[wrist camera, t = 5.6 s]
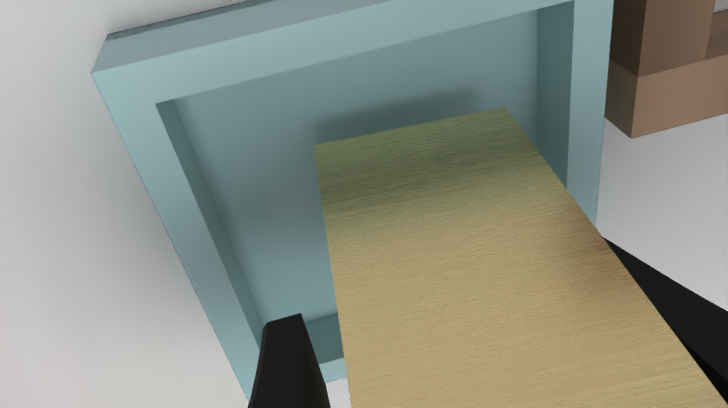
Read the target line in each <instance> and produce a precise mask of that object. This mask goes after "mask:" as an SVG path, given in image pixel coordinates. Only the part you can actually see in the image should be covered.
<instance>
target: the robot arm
mask: <svg viewBox="0 0 728 408" xmlns="http://www.w3.org/2000/svg"><path fill="white" fill-rule="evenodd" d="M603 239H604V240H605V241H606V243H607V244H608V245H609V247H610V248H611V249H612V251H613V252H614V253H615V255H616V256H617V257H618V259H619V260H620V261H621V263H622V264H623V265H624V267H625V268H626V269H627V271H628V272H629V273H630V275H631V276H632V277H633V279H634V280H635V281H636V283H637V284H638V285H639V287H640V288H641V289H642V291H643V292H644V293H645V295H646V296H647V297H648V299H649V300H650V301H651V303H652V304H653V305H654V307H655V308H656V310H657V311H658V312H659V314H660V315H661V316H662V318H663V319H664V320H665V322H666V323H667V324H668V326H669V327H670V328H671V330H672V331H673V332H674V334H675V335H676V336H677V338H678V339H679V340H680V342H681V343H682V344H683V346H684V347H685V348H686V350H687V351H688V352H689V354H690V355H691V356H692V358H693V359H694V360H695V362H696V363H697V364H698V366H699V367H700V368H701V370H702V371H703V372H704V374H705V375H706V376H707V378H708V379H709V380H710V382H711V383H712V385H713V386H714V387H715V389H716V390H717V391H718V393H719V394H720V395H721V397H722V398H723V399H724V401H725V402H726V403H727V405H728V311H726V310H724V309H722V308H720V307H719V306H717V305H715V304H713V303H712V302H710V301H708V300H706V299H704V298H703V297H701V296H699V295H698V294H696V293H694V292H692V291H691V290H689V289H687V288H685V287H684V286H682V285H680V284H679V283H677V282H675V281H674V280H672V279H670V278H669V277H667V276H665V275H664V274H662V273H660V272H659V271H657V270H656V269H654V268H652V267H651V266H649V265H647V264H646V263H644V262H642V261H641V260H639V259H638V258H636V257H634V256H633V255H631V254H630V253H628V252H626V251H625V250H623V249H622V248H620V247H618V246H617V245H615V244H613V243H612V242H610V241H609V240H607V239H605V238H604V237H603ZM248 408H330V403H329V398H328V394H327V389H326V385H325V382H324V379H323V376H322V373H321V370H320V367H319V364H318V361H317V358H316V355H315V352H314V349H313V346H312V343H311V341H310V338H309V335H308V332H307V329H306V326H305V323H304V320H303V317H302V314H301V313H299V314H295V315H291V316H288V317H284V318H281V319H277V320H273V321H270V322H267V323H266V325H265V326H264V327H263V330H262V339H261V347H260V353H259V359H258V365H257V370H256V375H255V379H254V384H253V388H252V393H251V397H250V401H249V405H248Z"/></svg>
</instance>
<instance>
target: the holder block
mask: <svg viewBox="0 0 728 408" xmlns="http://www.w3.org/2000/svg"><path fill="white" fill-rule="evenodd" d="M714 5H715V0H614V3H613V15H612V27H611V39H610V52H609V64H608V76H607V88H606V101H605V113H604V117H605V118H606V119H608V120H609V121H610V122H611V123H613V124H614V125H615V126H616V127H617V128H619V129H620V130H621V131H622V132H623V133H625V134H626V135H627V136H628V137H629V138H631V139H632V138H636V137H640V136H643V135H647V134H651V133H655V132H659V131H662V130H666V129H670V128H674V127H677V126H681V125H685V124H689V123H692V122H696V121H700V120H704V119H707V118H711V117H715V116H719V115H722V114H726V113H728V10H726V11H722V12H718V13H714V14H713V10H714Z"/></svg>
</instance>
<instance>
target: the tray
mask: <svg viewBox="0 0 728 408" xmlns="http://www.w3.org/2000/svg"><path fill="white" fill-rule="evenodd" d="M613 3H614V0H252V1H247V2H243V3H239V4H235V5H231V6H226V7H222V8H218V9H214V10H210V11H206V12H201V13H197V14H193V15H189V16H185V17H180V18H176V19H172V20H168V21H164V22H159V23H155V24H151V25H147V26H143V27H138V28H134V29H130V30H126V31H122V32H117V33H113V34H109V35H107V38H106V40H105V42H104V44H103V47H102V49H101V51H100V53H99V56H98V58H97V60H96V62H95V65H94V67H93V69H92V71H91V75H92V77H93V79H94V82H95V84H96V86H97V88H98V90H99V92H100V94H101V96H102V98H103V100H104V102H105V104H106V107H107V109H108V111H109V113H110V115H111V117H112V119H113V121H114V123H115V125H116V127H117V129H118V131H119V134H120V136H121V138H122V140H123V142H124V144H125V146H126V148H127V150H128V152H129V154H130V156H131V158H132V161H133V163H134V165H135V167H136V169H137V171H138V173H139V175H140V177H141V179H142V181H143V183H144V186H145V188H146V190H147V192H148V194H149V196H150V198H151V200H152V202H153V204H154V206H155V208H156V210H157V213H158V215H159V217H160V219H161V221H162V223H163V225H164V227H165V229H166V231H167V233H168V235H169V238H170V240H171V242H172V244H173V246H174V248H175V250H176V252H177V254H178V256H179V258H180V260H181V262H182V265H183V267H184V269H185V271H186V273H187V275H188V277H189V279H190V281H191V283H192V285H193V287H194V289H195V292H196V294H197V296H198V298H199V300H200V302H201V304H202V306H203V308H204V310H205V312H206V314H207V317H208V319H209V321H210V323H211V325H212V327H213V329H214V331H215V333H216V335H217V337H218V339H219V341H220V344H221V346H222V348H223V350H224V352H225V354H226V356H227V358H228V360H229V362H230V364H231V366H232V369H233V371H234V373H235V375H236V377H237V379H238V381H239V383H240V385H241V387H242V389H243V391H244V393H245V396H246V398H247V400H248V402H249V401H250V397H251V393H252V388H253V384H254V379H255V375H256V370H257V365H258V359H259V353H260V347H261V339H262V330H263V327H264V326H265V325H266V323H267V322H270V321H273V320H277V319H281V318H284V317H288V316H291V315H295V314H299V313H301V314H302V317H303V320H304V323H305V326H306V329H307V332H308V335H309V338H310V341H311V343H312V346H313V349H314V352H315V355H316V358H317V361H318V364H319V367H320V370H321V373H322V376H323V379H324V382H325V383H328V382H332V381H335V380H339V379H342V378H346V377H347V372H346V365H345V359H344V352H343V345H342V338H341V331H340V324H339V318H338V311H337V304H336V297H335V290H334V284H333V277H332V270H331V263H330V256H329V249H328V243H327V236H326V229H325V222H324V215H323V208H322V202H321V195H320V188H319V181H318V174H317V167H316V161H315V154H314V147H313V145H317V144H322V143H327V142H332V141H337V140H342V139H347V138H352V137H357V136H362V135H367V134H372V133H377V132H383V131H388V130H393V129H398V128H403V127H408V126H413V125H418V124H423V123H428V122H433V121H438V120H443V119H448V118H453V117H458V116H463V115H468V114H473V113H478V112H483V111H488V110H493V109H498V108H503V107H506V109H507V110H508V111H509V113H510V114H511V115H512V117H513V118H514V119H515V121H516V122H517V123H518V125H519V126H520V127H521V129H522V130H523V131H524V133H525V134H526V135H527V137H528V138H529V139H530V141H531V142H532V143H533V145H534V146H535V147H536V149H537V150H538V151H539V153H540V154H541V155H542V157H543V158H544V160H545V161H546V162H547V164H548V165H549V166H550V168H551V169H552V170H553V172H554V173H555V174H556V176H557V177H558V178H559V180H560V181H561V182H562V184H563V185H564V186H565V188H566V189H567V190H568V192H569V193H570V194H571V196H572V197H573V198H574V200H575V201H576V202H577V204H578V205H579V206H580V208H581V209H582V210H583V212H584V213H585V214H586V216H587V217H588V218H589V220H590V221H591V222H592V224H593V225H594V226H595V223H596V211H597V199H598V186H599V174H600V162H601V150H602V137H603V125H604V113H605V101H606V88H607V76H608V64H609V52H610V39H611V27H612V15H613Z"/></svg>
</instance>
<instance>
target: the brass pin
mask: <svg viewBox="0 0 728 408" xmlns="http://www.w3.org/2000/svg"><path fill="white" fill-rule="evenodd" d="M313 147H314V154H315V161H316V167H317V174H318V181H319V188H320V195H321V202H322V208H323V215H324V222H325V229H326V236H327V243H328V249H329V256H330V263H331V270H332V277H333V284H334V290H335V297H336V304H337V311H338V318H339V324H340V331H341V338H342V345H343V352H344V359H345V365H346V372H347V379H348V386H349V393H350V400H351V406H352V408H728V405H727V403H726V402H725V401H724V399H723V398H722V397H721V395H720V394H719V393H718V391H717V390H716V389H715V387H714V386H713V385H712V383H711V382H710V380H709V379H708V378H707V376H706V375H705V374H704V372H703V371H702V370H701V368H700V367H699V366H698V364H697V363H696V362H695V360H694V359H693V358H692V356H691V355H690V354H689V352H688V351H687V350H686V348H685V347H684V346H683V344H682V343H681V342H680V340H679V339H678V338H677V336H676V335H675V334H674V332H673V331H672V330H671V328H670V327H669V326H668V324H667V323H666V322H665V320H664V319H663V318H662V316H661V315H660V314H659V312H658V311H657V310H656V308H655V307H654V305H653V304H652V303H651V301H650V300H649V299H648V297H647V296H646V295H645V293H644V292H643V291H642V289H641V288H640V287H639V285H638V284H637V283H636V281H635V280H634V279H633V277H632V276H631V275H630V273H629V272H628V271H627V269H626V268H625V267H624V265H623V264H622V263H621V261H620V260H619V259H618V257H617V256H616V255H615V253H614V252H613V251H612V249H611V248H610V247H609V245H608V244H607V243H606V241H605V240H604V239H603V237H602V236H601V235H600V233H599V232H598V230H597V229H596V228H595V226H594V225H593V224H592V222H591V221H590V220H589V218H588V217H587V216H586V214H585V213H584V212H583V210H582V209H581V208H580V206H579V205H578V204H577V202H576V201H575V200H574V198H573V197H572V196H571V194H570V193H569V192H568V190H567V189H566V188H565V186H564V185H563V184H562V182H561V181H560V180H559V178H558V177H557V176H556V174H555V173H554V172H553V170H552V169H551V168H550V166H549V165H548V164H547V162H546V161H545V160H544V158H543V157H542V155H541V154H540V153H539V151H538V150H537V149H536V147H535V146H534V145H533V143H532V142H531V141H530V139H529V138H528V137H527V135H526V134H525V133H524V131H523V130H522V129H521V127H520V126H519V125H518V123H517V122H516V121H515V119H514V118H513V117H512V115H511V114H510V113H509V111H508V110H507V109H506V107H503V108H498V109H493V110H488V111H483V112H478V113H473V114H468V115H463V116H458V117H453V118H448V119H443V120H438V121H433V122H428V123H423V124H418V125H413V126H408V127H403V128H398V129H393V130H388V131H383V132H377V133H372V134H367V135H362V136H357V137H352V138H347V139H342V140H337V141H332V142H327V143H322V144H317V145H313Z"/></svg>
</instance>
